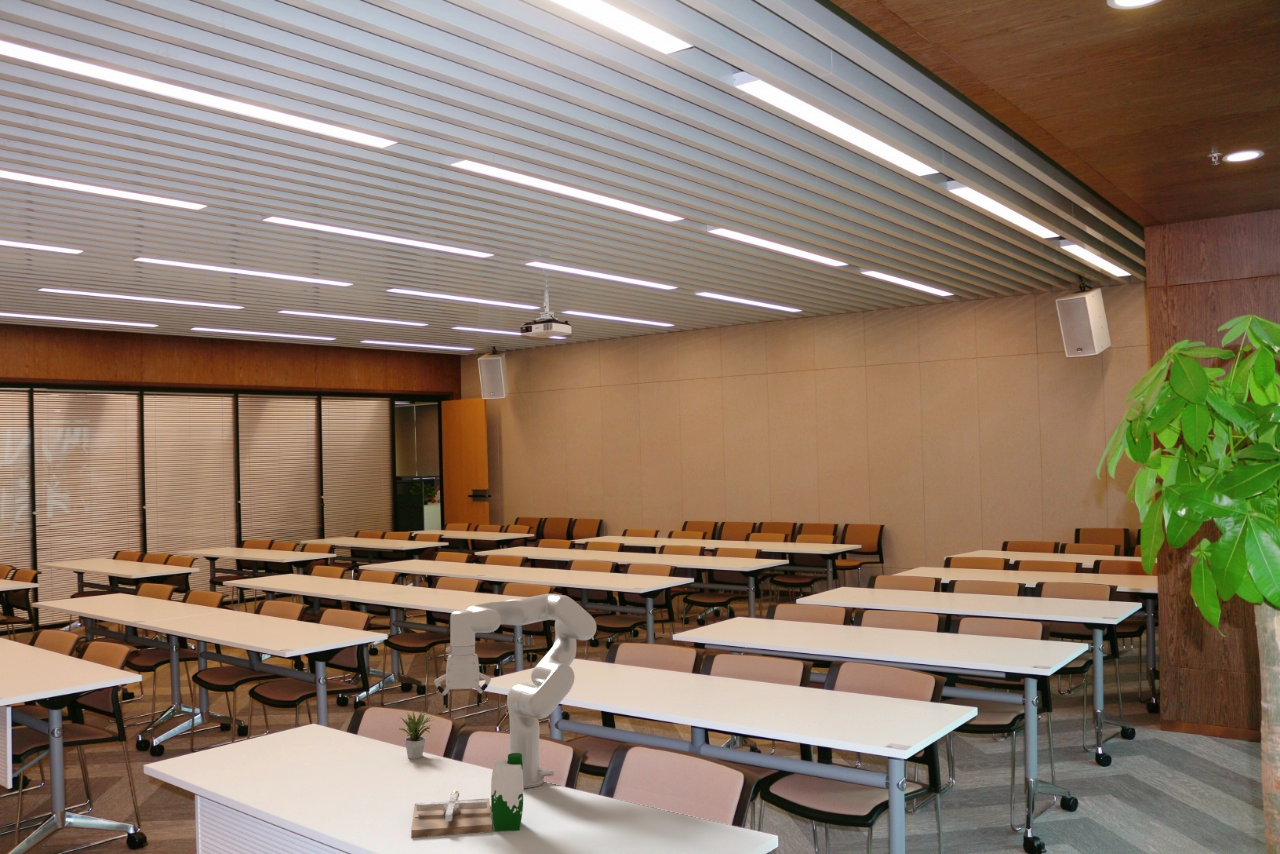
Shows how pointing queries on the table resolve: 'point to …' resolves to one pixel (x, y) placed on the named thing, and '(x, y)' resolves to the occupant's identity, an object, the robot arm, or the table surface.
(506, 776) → the milk carton
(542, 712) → the robot arm
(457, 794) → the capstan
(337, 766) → the table surface
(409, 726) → the house plant
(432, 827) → the stand plate
